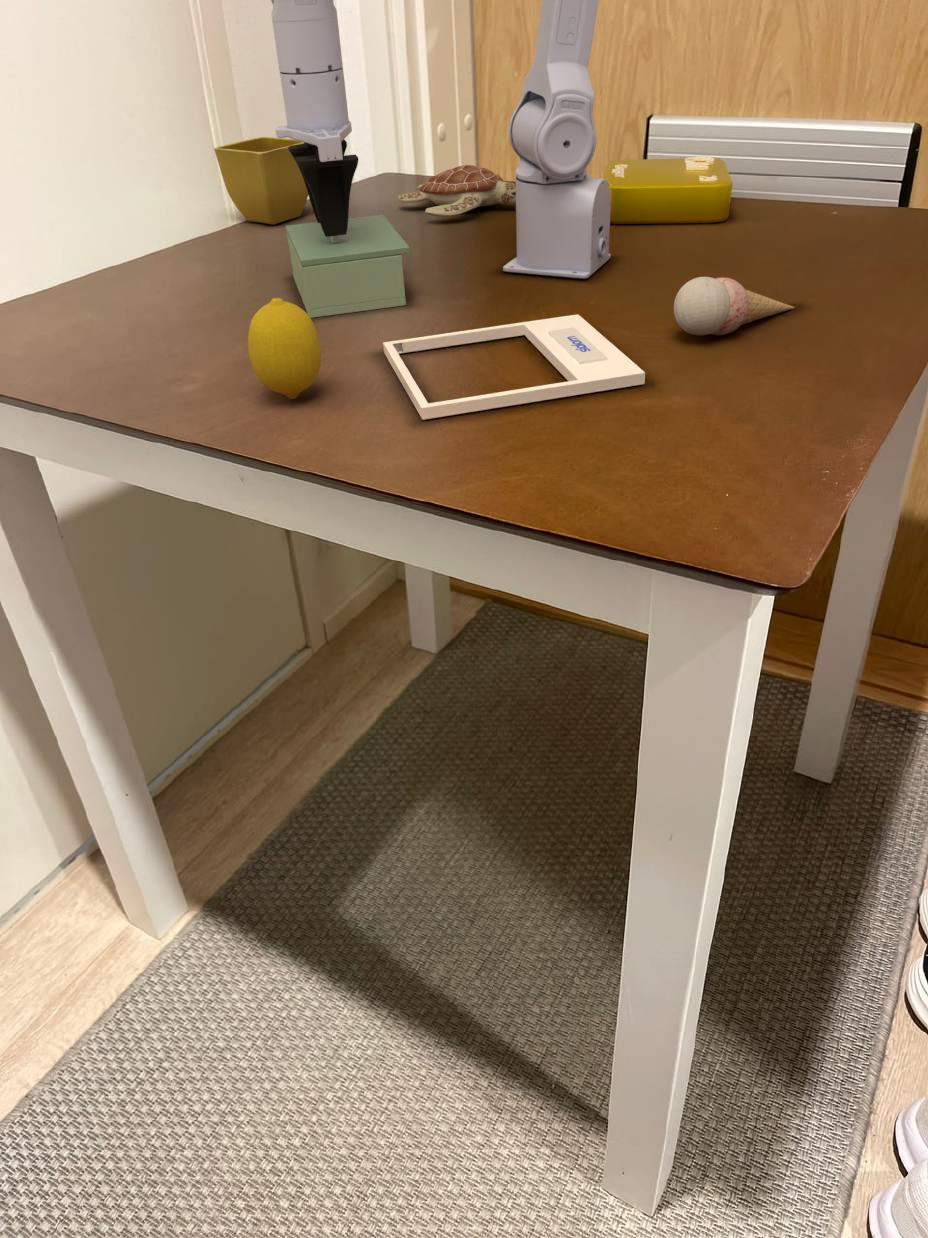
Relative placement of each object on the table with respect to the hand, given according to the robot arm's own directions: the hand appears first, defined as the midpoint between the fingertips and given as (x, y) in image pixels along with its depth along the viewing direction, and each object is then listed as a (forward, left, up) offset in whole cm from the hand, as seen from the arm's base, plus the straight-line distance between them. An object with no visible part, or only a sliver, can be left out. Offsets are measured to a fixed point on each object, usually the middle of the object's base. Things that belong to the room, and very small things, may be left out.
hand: (331, 227), depth 93 cm
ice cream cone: (-41, -1, -6) cm, 41 cm away
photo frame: (-25, +14, -6) cm, 29 cm away
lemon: (-11, +25, -6) cm, 27 cm away
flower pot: (+24, -23, -6) cm, 34 cm away
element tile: (-23, -40, -6) cm, 47 cm away
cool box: (-1, 0, -6) cm, 6 cm away
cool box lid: (-1, -1, -1) cm, 2 cm away
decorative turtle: (+2, -35, -6) cm, 36 cm away
